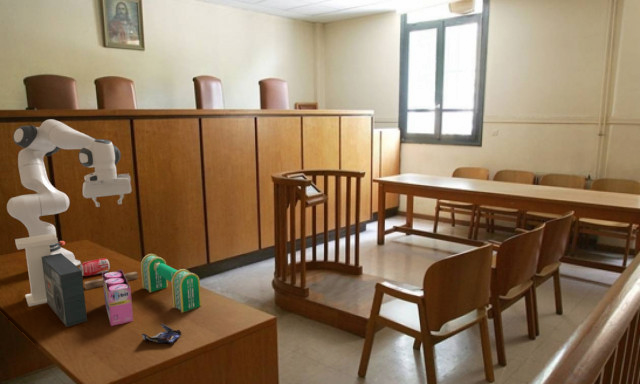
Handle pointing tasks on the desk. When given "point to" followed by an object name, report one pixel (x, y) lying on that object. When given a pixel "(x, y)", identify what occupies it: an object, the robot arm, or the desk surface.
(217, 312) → the desk surface
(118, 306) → the gum box
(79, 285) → the cassette player
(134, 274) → the brown block
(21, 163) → the robot arm
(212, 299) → the desk surface
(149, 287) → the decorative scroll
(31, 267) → the stand
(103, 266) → the soda can
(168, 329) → the snack package
